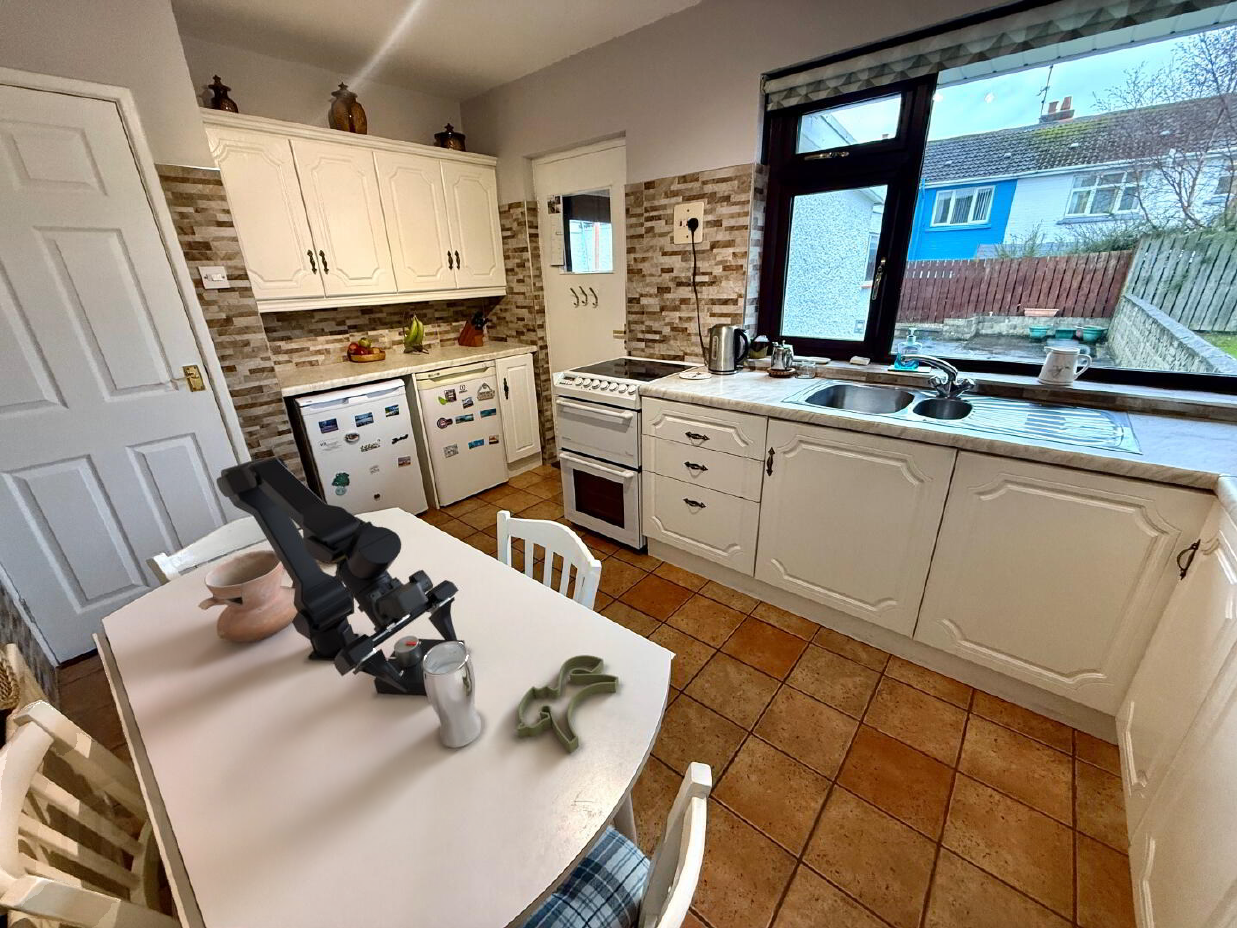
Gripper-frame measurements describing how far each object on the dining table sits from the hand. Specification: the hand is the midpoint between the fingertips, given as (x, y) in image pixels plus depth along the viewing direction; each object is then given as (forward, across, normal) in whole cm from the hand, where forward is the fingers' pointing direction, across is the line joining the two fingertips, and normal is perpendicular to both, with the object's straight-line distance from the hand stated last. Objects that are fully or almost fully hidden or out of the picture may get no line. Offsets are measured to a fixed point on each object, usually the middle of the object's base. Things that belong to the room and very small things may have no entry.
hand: (433, 668), depth 73 cm
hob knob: (-4, +4, +15) cm, 16 cm away
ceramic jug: (-28, -3, +43) cm, 51 cm away
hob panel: (0, +5, +16) cm, 16 cm away
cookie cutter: (+18, +13, -3) cm, 23 cm away
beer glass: (+10, 0, +5) cm, 12 cm away
